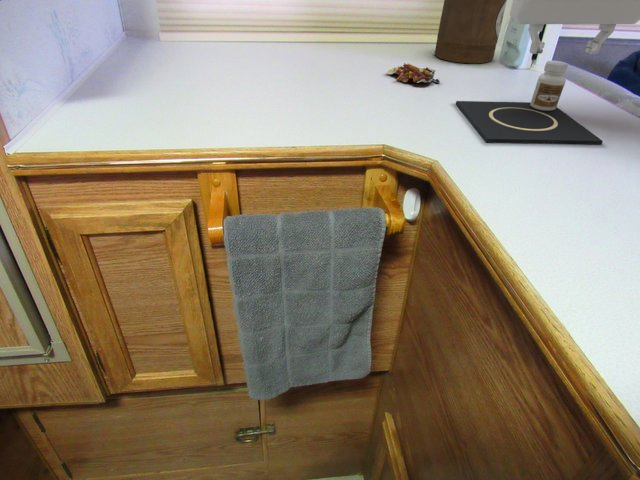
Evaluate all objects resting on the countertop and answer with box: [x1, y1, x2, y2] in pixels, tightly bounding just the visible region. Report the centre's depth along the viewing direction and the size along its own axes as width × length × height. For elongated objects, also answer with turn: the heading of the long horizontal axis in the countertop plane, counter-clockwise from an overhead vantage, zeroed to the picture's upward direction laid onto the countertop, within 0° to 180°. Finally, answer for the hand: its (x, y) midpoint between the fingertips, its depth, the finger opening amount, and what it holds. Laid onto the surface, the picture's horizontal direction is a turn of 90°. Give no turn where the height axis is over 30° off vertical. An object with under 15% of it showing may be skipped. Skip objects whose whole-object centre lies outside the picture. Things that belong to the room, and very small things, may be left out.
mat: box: [455, 100, 603, 145], centre depth 72 cm, size 18×18×1 cm
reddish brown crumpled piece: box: [385, 62, 441, 83], centre depth 92 cm, size 7×12×4 cm, turn 42°
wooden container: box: [434, 0, 508, 65], centre depth 104 cm, size 15×15×22 cm
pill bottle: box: [530, 60, 569, 111], centre depth 75 cm, size 4×4×8 cm
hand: (563, 53), depth 72 cm, fingers open, 8 cm apart
